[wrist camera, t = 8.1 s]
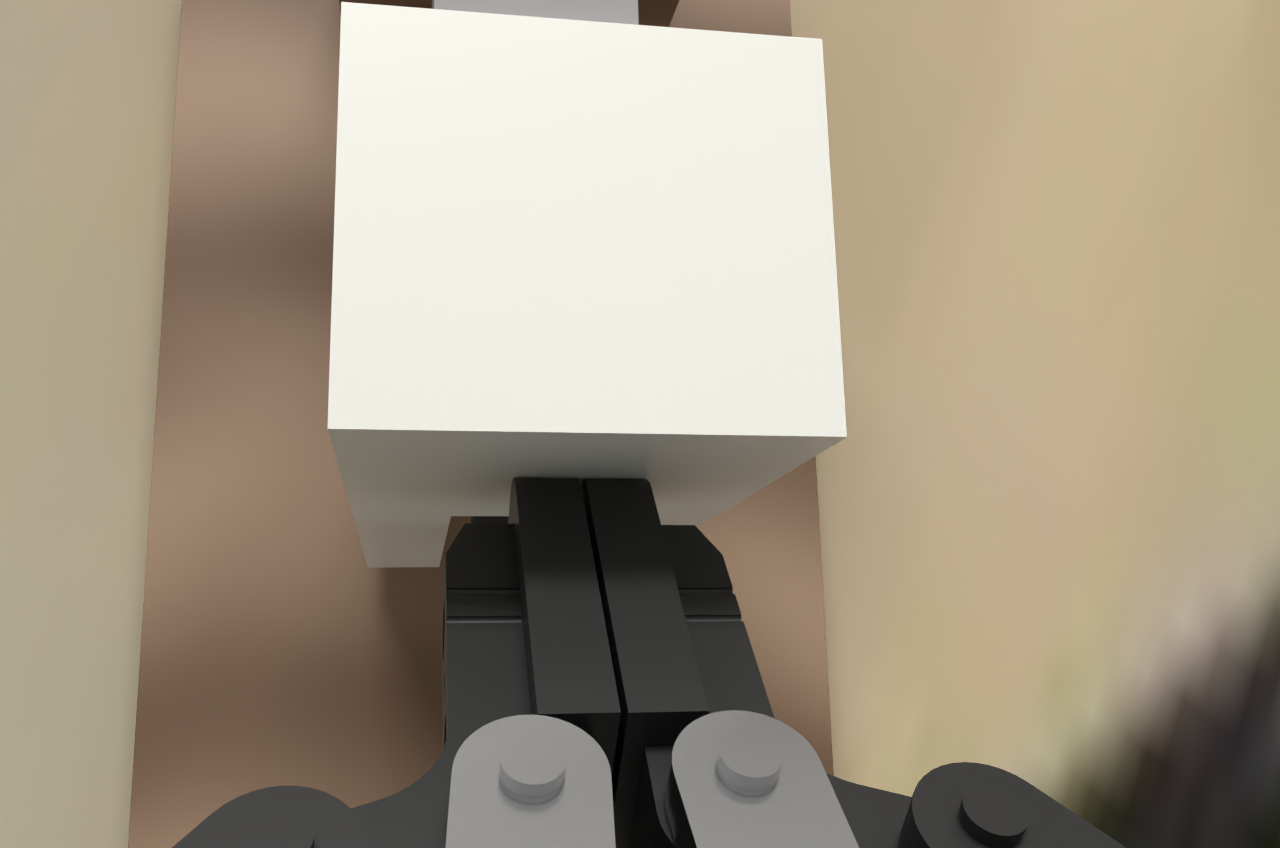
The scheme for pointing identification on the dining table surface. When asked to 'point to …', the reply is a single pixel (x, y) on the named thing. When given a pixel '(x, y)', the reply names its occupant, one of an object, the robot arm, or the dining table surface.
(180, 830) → the cord stand
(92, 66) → the dining table surface
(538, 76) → the white slider block
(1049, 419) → the dining table surface
